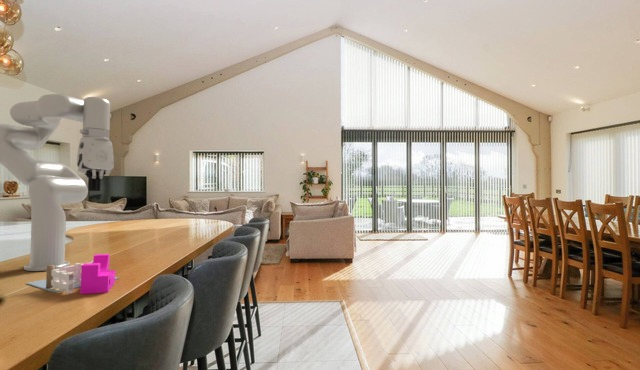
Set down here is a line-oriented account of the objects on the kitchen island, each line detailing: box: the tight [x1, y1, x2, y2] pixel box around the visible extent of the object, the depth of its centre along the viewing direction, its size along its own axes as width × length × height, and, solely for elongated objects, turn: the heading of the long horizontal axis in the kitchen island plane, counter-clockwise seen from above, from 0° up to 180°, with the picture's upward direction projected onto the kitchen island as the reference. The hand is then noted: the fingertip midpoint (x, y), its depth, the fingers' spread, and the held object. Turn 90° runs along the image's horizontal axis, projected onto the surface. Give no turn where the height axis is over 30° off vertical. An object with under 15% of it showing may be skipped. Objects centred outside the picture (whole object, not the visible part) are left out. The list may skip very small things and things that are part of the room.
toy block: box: [79, 253, 116, 295], centre depth 100 cm, size 15×6×8 cm, turn 21°
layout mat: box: [25, 276, 120, 294], centre depth 105 cm, size 16×18×1 cm
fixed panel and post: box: [45, 265, 74, 294], centre depth 95 cm, size 11×2×6 cm, turn 61°
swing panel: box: [57, 260, 93, 281], centre depth 103 cm, size 10×1×5 cm, turn 153°
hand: (94, 190), depth 116 cm, fingers closed
